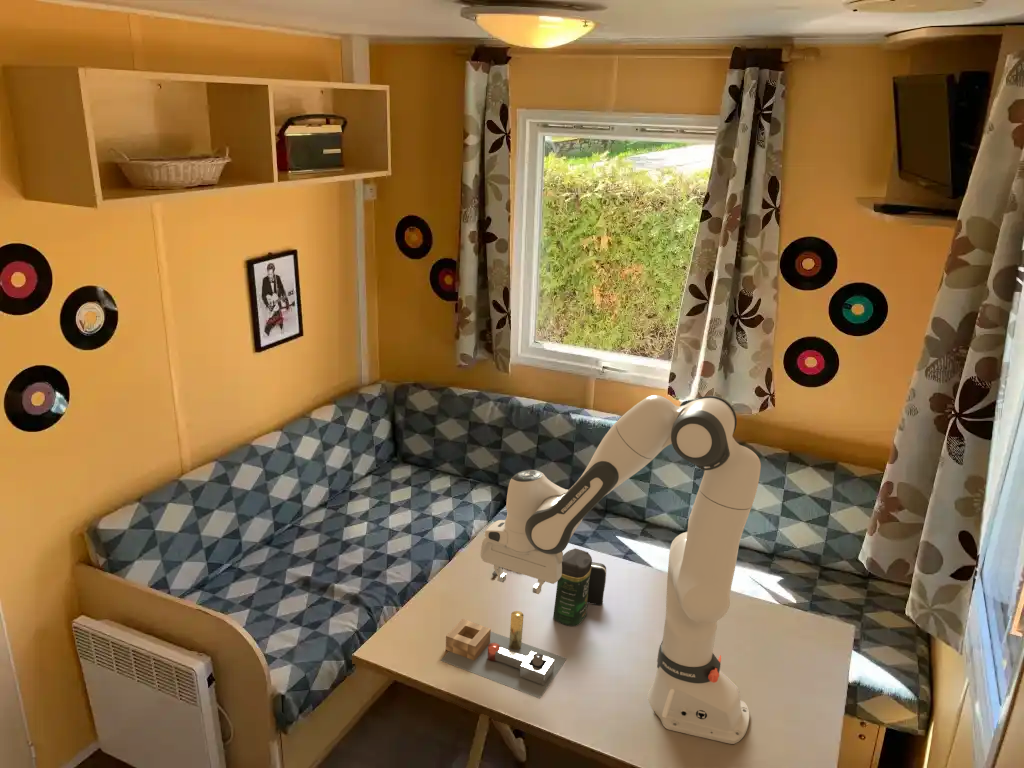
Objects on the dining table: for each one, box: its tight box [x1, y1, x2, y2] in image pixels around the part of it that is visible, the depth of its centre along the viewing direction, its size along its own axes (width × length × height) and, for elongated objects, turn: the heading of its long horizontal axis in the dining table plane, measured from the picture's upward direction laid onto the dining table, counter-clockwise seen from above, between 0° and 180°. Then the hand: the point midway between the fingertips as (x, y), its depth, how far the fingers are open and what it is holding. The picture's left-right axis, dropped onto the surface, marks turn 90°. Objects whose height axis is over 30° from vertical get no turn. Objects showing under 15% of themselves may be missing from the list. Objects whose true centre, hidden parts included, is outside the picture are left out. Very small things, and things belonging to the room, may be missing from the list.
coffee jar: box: [553, 548, 593, 627], centre depth 205 cm, size 10×8×19 cm
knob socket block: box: [488, 643, 554, 685], centre depth 186 cm, size 16×6×3 cm, turn 64°
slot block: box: [445, 618, 492, 661], centre depth 193 cm, size 8×8×4 cm
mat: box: [440, 631, 568, 699], centre depth 189 cm, size 26×16×1 cm, turn 64°
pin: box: [509, 610, 524, 650], centre depth 193 cm, size 3×3×9 cm
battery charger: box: [587, 561, 607, 606], centre depth 214 cm, size 7×4×11 cm, turn 79°
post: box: [532, 653, 543, 669], centre depth 184 cm, size 2×2×5 cm
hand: (519, 586), depth 189 cm, fingers open, 8 cm apart
